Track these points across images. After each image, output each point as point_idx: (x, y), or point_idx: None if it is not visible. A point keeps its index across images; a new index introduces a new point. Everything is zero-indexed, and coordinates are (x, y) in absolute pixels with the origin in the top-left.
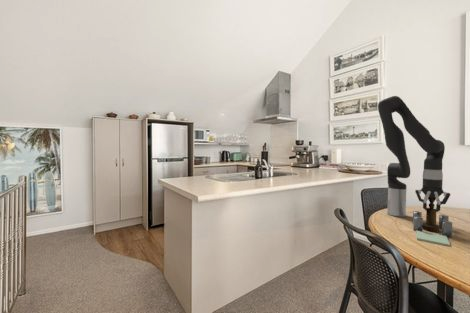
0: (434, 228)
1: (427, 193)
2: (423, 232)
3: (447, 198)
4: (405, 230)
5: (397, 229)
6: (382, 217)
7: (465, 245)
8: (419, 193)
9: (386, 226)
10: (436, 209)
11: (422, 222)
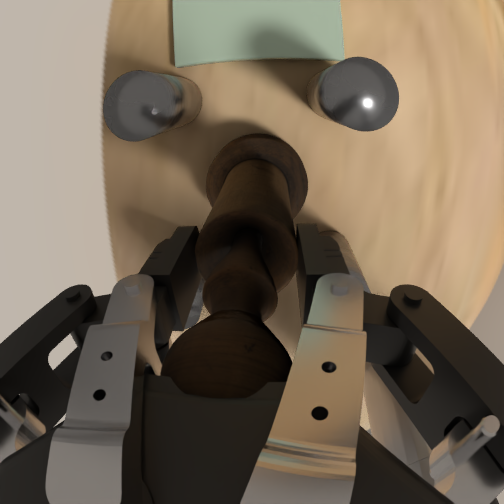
0: (235, 141)
1: (337, 468)
2: (302, 41)
3: (1, 350)
4: (398, 59)
5: (435, 57)
6: (476, 267)
7: (109, 15)
8: (485, 416)
9: (481, 90)
10: (193, 251)
11: (320, 80)
